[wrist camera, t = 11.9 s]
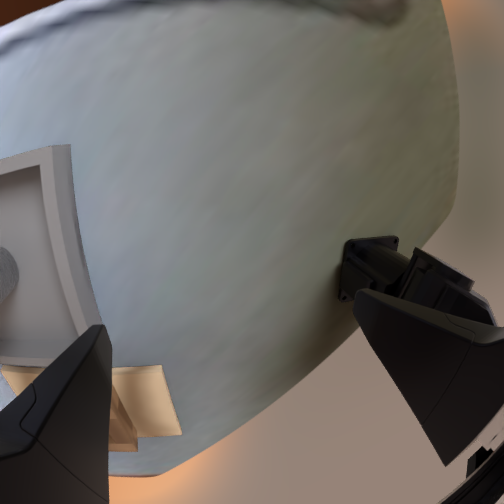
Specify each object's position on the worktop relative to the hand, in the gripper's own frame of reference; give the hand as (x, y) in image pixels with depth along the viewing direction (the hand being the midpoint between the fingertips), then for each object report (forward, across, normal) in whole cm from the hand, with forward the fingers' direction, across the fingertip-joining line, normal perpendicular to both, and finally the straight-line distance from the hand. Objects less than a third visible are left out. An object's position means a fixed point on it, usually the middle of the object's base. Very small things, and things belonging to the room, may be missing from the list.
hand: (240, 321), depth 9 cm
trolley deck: (+13, +15, +20) cm, 28 cm away
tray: (+13, +18, +2) cm, 22 cm away
